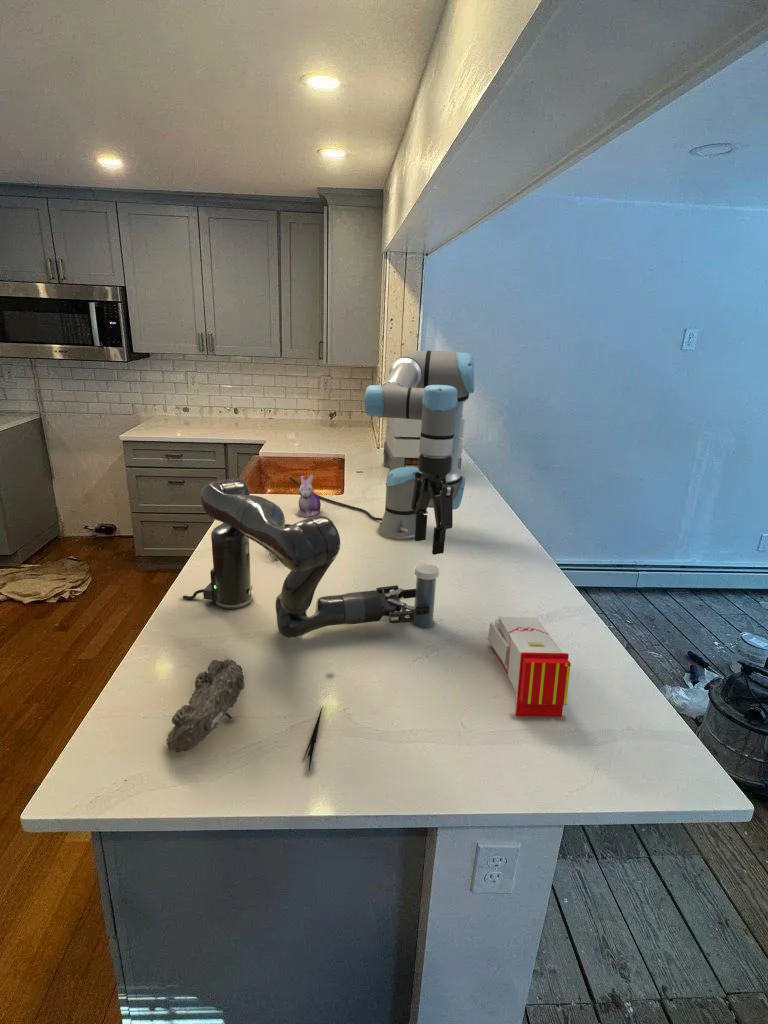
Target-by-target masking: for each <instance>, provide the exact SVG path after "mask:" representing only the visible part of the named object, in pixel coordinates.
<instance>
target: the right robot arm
mask: <svg viewBox="0 0 768 1024" xmlns="http://www.w3.org/2000/svg"><path fill="white" fill-rule="evenodd" d="M474 363H475V361H474V357H473V355H472V354H471V353H469V352H461V351H458V350H457V351H446V350H428V349H427V350H426V349H421V350H414V351H410V352H408V353H405V354H403V355H401V356H399V357H398V358H396V359H395V360H394V361H393V362H392V363H391V364H390V367H389V370H388V376H386V378H385V380H384V382H383V383H382V384H370V385H368V386H367V387H366V389H365V393H364V412H365V414H366V415H367V416H369V417H376V418H378V419H379V418H385V419H386V418H400V419H414V420H422V424H421V435H420V449H419V452H420V453H421V455H420V456H419V466H404V467H400V468H396V469H393V470H391V471H390V470H389V471H388V473H387V475H386V482H385V504H384V505H385V507H384V508H385V509H384V513H383V515H382V517H375V516H373V515H372V514H371V513H370V512H369V511H367V510H366V509H363V508H360V507H358V506H357V507H356V506H353V505H350V504H346V503H343V502H339V501H337V500H332V499H329V498H327V497H324V496H321V495H319V494H316V495H317V496H318V497H319V499H320V500H323V501H326V502H328V503H331V504H335V505H338V506H341V507H345V508H348V509H352V510H355V511H359V512H362V513H364V514H366V515H367V516H368V518H370V519H371V520H374V521H379V526H378V533H379V534H380V535H381V536H382V537H385V538H387V539H389V540H395V541H410V540H414V541H415V542H422V541H423V542H424V541H426V540H427V527H428V515H427V514H429V512H428V510H427V509H428V508H429V509H433V513H434V520H435V526H434V527H433V535H432V549H431V554H432V555H435V556H436V555H441V554H444V551H445V542H446V534H447V530H449V529H453V527H454V526H453V525H454V524H453V523H454V522H453V520H454V519H453V517H454V516H453V515H454V514H453V511H454V510H457V509H459V508H460V506H461V504H462V500H463V496H464V490H465V485H466V477H465V476H463V474H462V469H461V470H460V469H459V468H458V458H459V446H460V439H461V438H460V434H461V423H462V419H463V410H464V403H466V402H467V401H468V399H469V398H470V395H471V394H473V393H474V392H475V364H474ZM289 480H290V481H291V482H293V483H294V484H295V485H296V486H297V487H298V488H300V486H301V483H299V482H298V481H297V480H295V478H293V477H291V476H290V477H289Z"/></svg>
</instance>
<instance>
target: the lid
mask: <svg viewBox="0 0 768 1024" xmlns="http://www.w3.org/2000/svg"><path fill="white" fill-rule="evenodd" d="M439 575H440V571H439V567H438V566H437V565H434V564H430V563H419V564H417V565H416V566H415V569H414V576H415V577H416V576H417V577H418V578H421V579H425V580H431V579H435V578H436V579H437V578H439Z"/></svg>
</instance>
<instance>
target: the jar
mask: <svg viewBox="0 0 768 1024" xmlns="http://www.w3.org/2000/svg"><path fill="white" fill-rule="evenodd" d="M436 588H437V578H435V579H431V580H425V579H421V578H418V577H417V576H416V575H415V589H416V590H415V598H414V604H413V605H414V606H420V605H428V606H429V613H428V614H425V615H416V616H415V619H414V622H412V623H413V624H414V625H415V626H416V627H419V628H429V627H430V628H431V626H432V625H433V624H434V613H435V599H436V590H437V589H436ZM414 606H413V607H414Z"/></svg>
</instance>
